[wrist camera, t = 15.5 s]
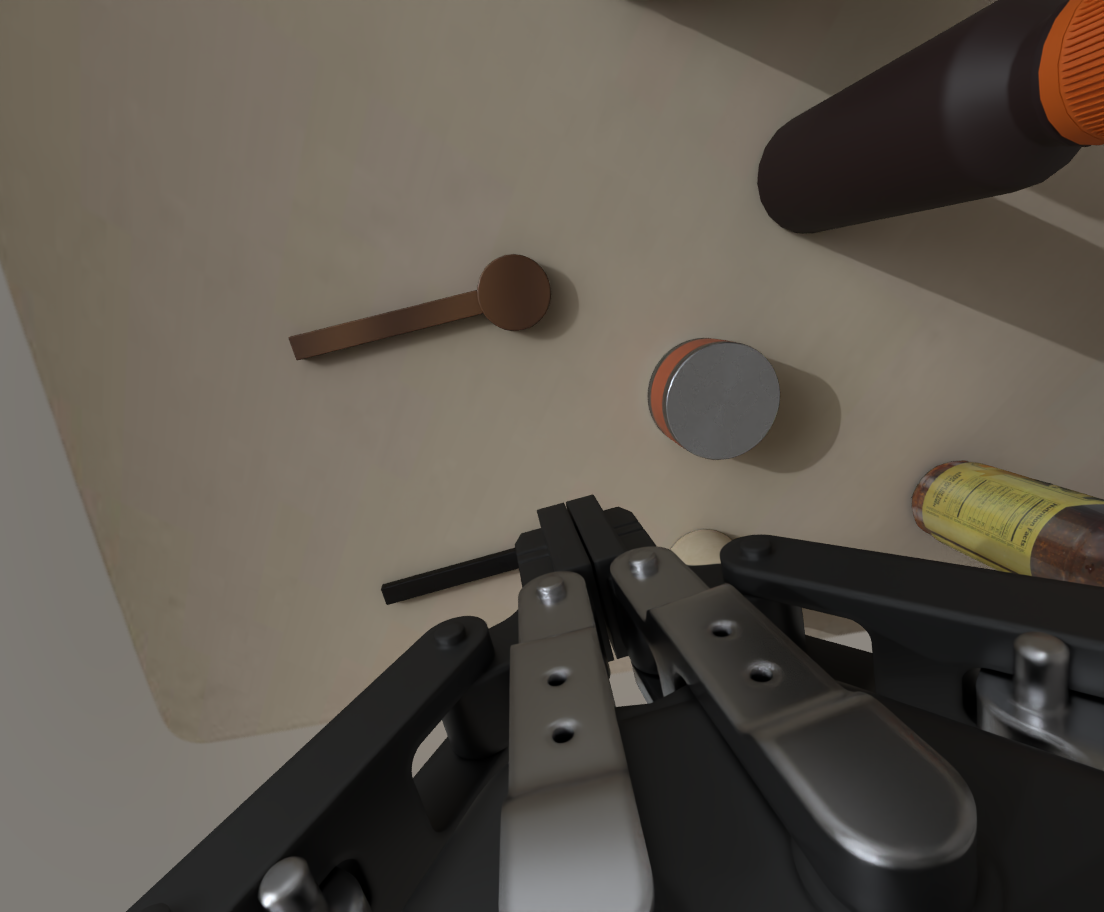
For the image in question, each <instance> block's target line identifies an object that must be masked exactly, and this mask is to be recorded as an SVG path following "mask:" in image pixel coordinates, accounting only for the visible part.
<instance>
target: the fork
mask: <svg viewBox="0 0 1104 912" xmlns="http://www.w3.org/2000/svg"><path fill="white" fill-rule="evenodd" d="M518 568H519V564H518V559H517V554H516V548H512V549H509V550H505V551H502V552H498V553H494V554H491V555H487V556H484V557H480V558H476V559H473V560H469V561H466V562H462V563H458V564H455V565H451V566H448V567H444V568H440V569H437V570H433V571H430V572H426V573H422V574H419V575H415V576H411V577H408V578H404V579H401V580H397V581H393V582H390V583H386V584H383V585H382V588H381V591H382V593H383V596H384V599H385V602H386V604H387V605H389V604H393V603H396V602H400V601H403V600H407V599H410V598H414V597H418V596H421V595H425V594H428V593H432V592H435V591H439V590H443V589H446V588H450V587H453V586H457V585H461V584H464V583H468V582H471V581H475V580H478V579H482V578H486V577H489V576H493V575H496V574H500V573H503V572H507V571H511V570H514V569H518Z"/></svg>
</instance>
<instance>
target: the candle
mask: <svg viewBox="0 0 1104 912" xmlns="http://www.w3.org/2000/svg"><path fill="white" fill-rule="evenodd" d="M730 541H732V540H731V539H730V538H729V537H727V536H726V535H724V534H722V533H720V532H718V531H715V530H709V529H703V530H697V531H693V532H691V533H688V534H687V535H685V536H683V537H682V538H681V539H679V540H678V541H677V542H676V543H675V544H674V546H673V547H672V549H671V551H673V552H674V553H675V554H676V555H677V556H678V557H679V558H680V559H681V560H682V561H683V562H684V563H685V564H686V565H707V564H718V563H721V561H720V551H721V549H722V547H723V546H724V545H726V544H727V543H728V542H730Z"/></svg>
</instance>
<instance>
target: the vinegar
mask: <svg viewBox="0 0 1104 912" xmlns="http://www.w3.org/2000/svg"><path fill="white" fill-rule="evenodd" d="M1102 144H1104V0H998V1H996V2H994V3H993V4H991V5H989V6H987V7H986V8H984V9H982V10H980V11H979V12H977V13H975V14H973V15H972V16H970V17H968V18H967V19H965V20H963V21H961V22H960V23H958V24H956V25H954V26H953V27H951V28H949V29H947V30H946V31H944V32H942V33H941V34H939V35H937V36H935V37H934V38H932V39H930V40H928V41H927V42H925V43H923V44H921V45H920V46H918V47H916V48H915V49H913V50H911V51H909V52H908V53H906V54H904V55H902V56H901V57H899V58H897V59H895V60H894V61H892V62H890V63H889V64H887V65H885V66H883V67H882V68H880V69H878V70H876V71H875V72H873V73H871V74H869V75H868V76H866V77H864V78H863V79H861V80H859V81H857V82H856V83H854V84H852V85H850V86H849V87H847V88H845V89H843V90H842V91H840V92H838V93H837V94H835V95H833V96H831V97H830V98H828V99H826V100H824V101H823V102H821V103H819V104H817V105H816V106H814V107H812V108H811V109H809V110H807V111H805V112H804V113H802V114H800V115H798V116H797V117H795V118H793V119H792V120H790V121H789V122H788V123H786V124H785V125H784V126H783V127H781V128H780V129H779V130H777V132H776V133H775V135H774V136H773V137H772V139H771V140H770V142H769V143H768V144H767V146H766V147H765V150H764V153H763V155H762V158H761V161H760V164H759V170H758V183H757V184H758V189H759V194H760V199H761V202H762V204H763V206H764V208H765V210H766V211H767V213H768V215H769V216H770V217H771V218H772V219H773V220H774V221H775V222H776V223H777V224H778V225H780V226H781V227H783V228H785V229H788V230H791V231H793V232H796V233H816V232H821V231H826V230H831V229H835V228H840V227H845V226H850V225H855V224H860V223H865V222H870V221H875V220H880V219H885V218H889V217H894V216H899V215H904V214H909V213H914V212H919V211H924V210H929V209H934V208H939V207H944V206H948V205H953V204H958V203H963V202H968V201H973V200H978V199H983V198H988V197H993V196H998V195H1002V194H1007V193H1012V192H1015V191H1018V190H1021V189H1024V188H1027V187H1030V186H1033V185H1036V184H1038V183H1041V182H1043V181H1045V180H1046V179H1048V178H1049V177H1050V176H1052V175H1053V174H1054V173H1056V172H1057V171H1058V170H1060V169H1061V168H1063V167H1064V166H1065V165H1067V164H1068V163H1069V162H1070V161H1071V160H1072V159H1073V157H1074V156H1075V155H1076V154H1077V152H1078V151H1079V150H1080V149H1081V147H1088V146H1091V145H1102Z"/></svg>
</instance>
